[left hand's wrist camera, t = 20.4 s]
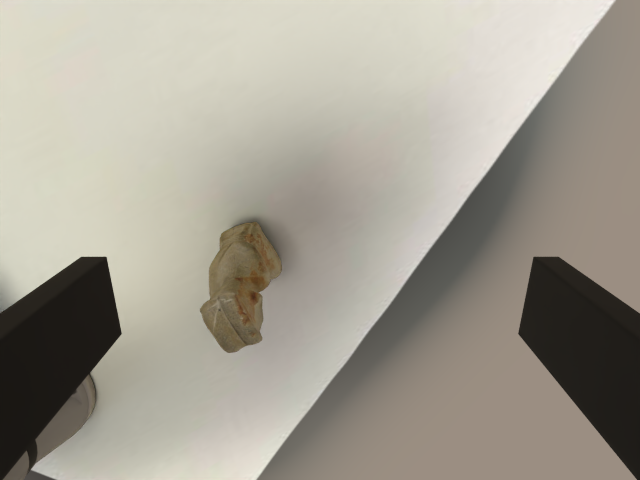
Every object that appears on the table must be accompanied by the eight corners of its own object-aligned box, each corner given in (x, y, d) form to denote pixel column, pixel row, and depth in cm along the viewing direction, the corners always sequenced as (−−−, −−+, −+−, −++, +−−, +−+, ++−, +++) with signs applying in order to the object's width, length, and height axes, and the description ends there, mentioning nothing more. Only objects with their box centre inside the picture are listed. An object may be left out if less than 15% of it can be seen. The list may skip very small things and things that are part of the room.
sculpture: (243, 283, 46) (209, 367, 32) (216, 226, 44) (167, 291, 30) (290, 267, 45) (277, 346, 31) (266, 209, 43) (240, 266, 29)
